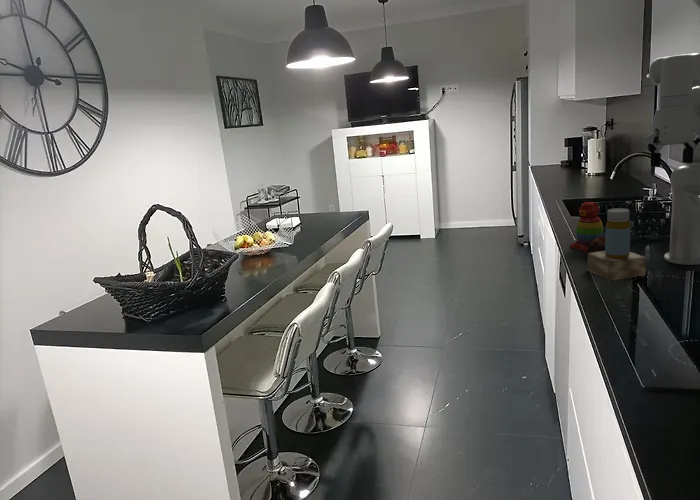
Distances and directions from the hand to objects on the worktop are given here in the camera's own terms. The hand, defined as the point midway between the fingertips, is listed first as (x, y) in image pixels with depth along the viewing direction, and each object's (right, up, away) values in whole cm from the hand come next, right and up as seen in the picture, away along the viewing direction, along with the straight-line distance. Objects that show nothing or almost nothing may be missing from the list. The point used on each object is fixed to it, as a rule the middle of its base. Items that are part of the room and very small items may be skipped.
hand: (671, 164), depth 149 cm
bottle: (-5, -26, +20) cm, 33 cm away
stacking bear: (0, -24, +51) cm, 56 cm away
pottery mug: (-1, -27, +40) cm, 48 cm away
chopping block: (-5, -32, +22) cm, 39 cm away
